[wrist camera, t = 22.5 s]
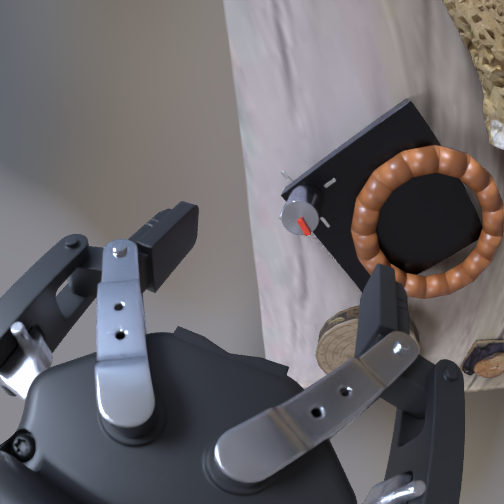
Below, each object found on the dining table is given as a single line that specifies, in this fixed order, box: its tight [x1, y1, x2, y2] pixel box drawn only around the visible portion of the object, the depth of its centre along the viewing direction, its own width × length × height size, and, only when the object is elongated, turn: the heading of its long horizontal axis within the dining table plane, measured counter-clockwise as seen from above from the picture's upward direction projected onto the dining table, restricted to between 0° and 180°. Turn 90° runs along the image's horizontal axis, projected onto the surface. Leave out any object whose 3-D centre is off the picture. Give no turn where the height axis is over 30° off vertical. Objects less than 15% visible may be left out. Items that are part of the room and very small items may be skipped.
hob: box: [279, 99, 483, 293], centre depth 31 cm, size 19×19×3 cm
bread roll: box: [460, 339, 504, 378], centre depth 36 cm, size 11×8×4 cm
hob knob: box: [281, 184, 323, 236], centre depth 30 cm, size 4×4×5 cm
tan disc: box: [316, 306, 419, 375], centre depth 43 cm, size 16×16×3 cm
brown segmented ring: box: [351, 145, 504, 299], centre depth 28 cm, size 17×17×3 cm
